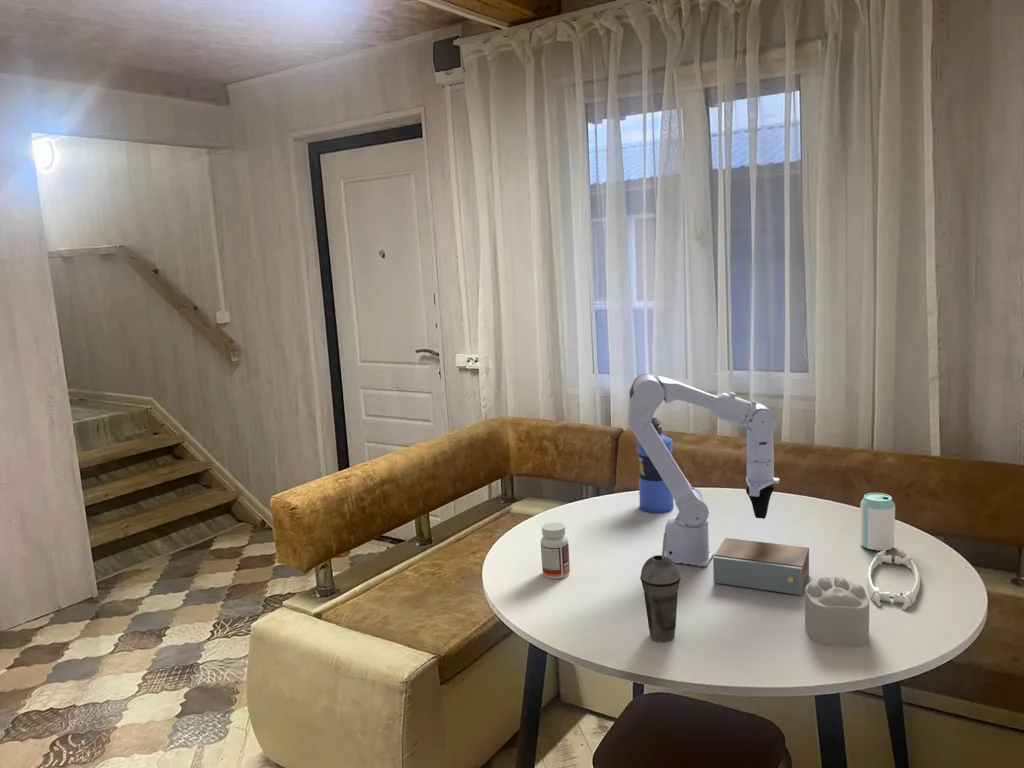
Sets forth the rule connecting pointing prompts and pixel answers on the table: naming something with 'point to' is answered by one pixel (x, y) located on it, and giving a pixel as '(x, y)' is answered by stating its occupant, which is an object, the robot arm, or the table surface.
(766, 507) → the robot arm
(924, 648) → the table surface
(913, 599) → the white oval frame
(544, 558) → the pill bottle
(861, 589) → the grey paw shaped block
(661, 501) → the water bottle
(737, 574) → the cabinet door
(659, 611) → the beverage cup
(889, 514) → the can
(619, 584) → the table surface
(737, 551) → the walnut cabinet
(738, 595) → the table surface
